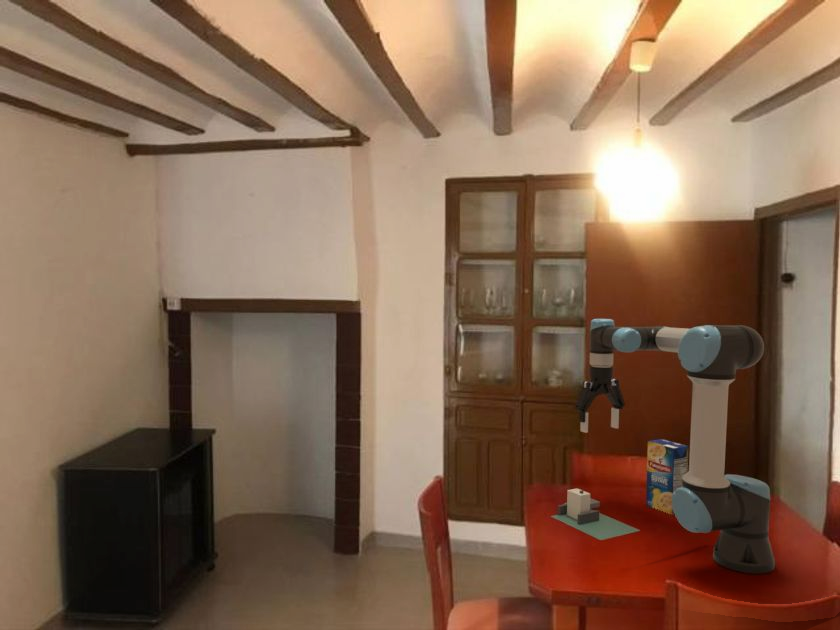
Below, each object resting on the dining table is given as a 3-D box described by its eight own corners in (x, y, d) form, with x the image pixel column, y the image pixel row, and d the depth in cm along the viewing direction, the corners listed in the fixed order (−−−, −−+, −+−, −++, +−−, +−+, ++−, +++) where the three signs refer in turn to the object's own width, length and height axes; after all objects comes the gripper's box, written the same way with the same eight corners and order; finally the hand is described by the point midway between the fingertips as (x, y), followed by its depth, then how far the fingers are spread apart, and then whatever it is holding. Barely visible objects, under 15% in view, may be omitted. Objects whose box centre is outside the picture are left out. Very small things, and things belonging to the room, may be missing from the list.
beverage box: (672, 515, 221) (674, 448, 220) (645, 505, 230) (647, 441, 229) (686, 511, 224) (688, 446, 223) (659, 502, 234) (661, 438, 232)
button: (599, 511, 224) (600, 501, 224) (583, 514, 221) (584, 504, 221) (584, 504, 230) (585, 495, 230) (569, 507, 227) (569, 498, 227)
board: (640, 535, 203) (640, 520, 203) (600, 545, 195) (601, 529, 195) (587, 512, 223) (587, 498, 223) (549, 520, 215) (549, 506, 215)
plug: (589, 518, 212) (590, 491, 211) (580, 521, 210) (580, 493, 209) (575, 512, 218) (575, 485, 217) (565, 514, 216) (566, 487, 215)
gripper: (620, 362, 232) (618, 423, 234) (564, 366, 220) (562, 431, 221) (637, 365, 226) (635, 428, 227) (580, 369, 214) (578, 436, 215)
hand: (599, 429), depth 224 cm, fingers open, 13 cm apart
